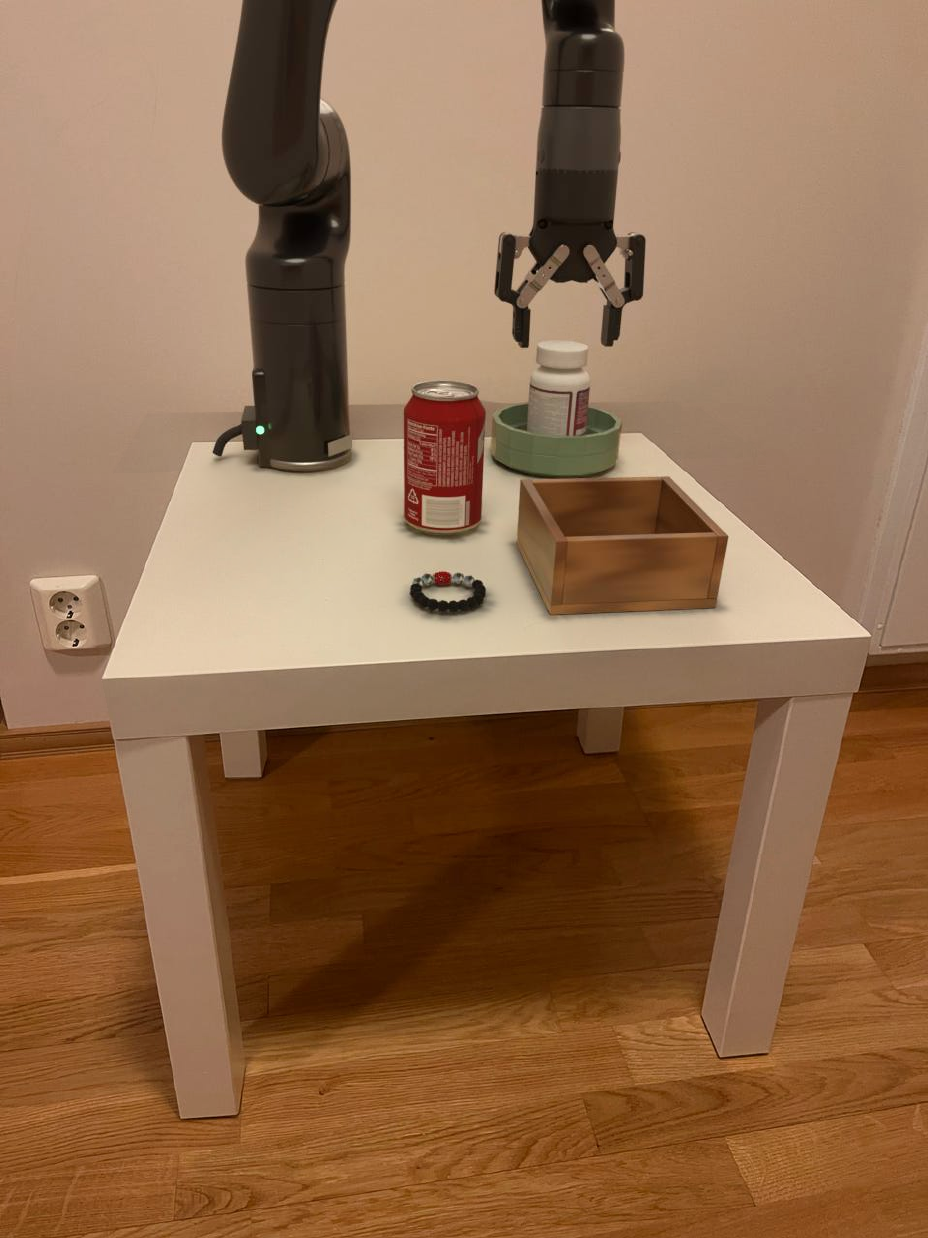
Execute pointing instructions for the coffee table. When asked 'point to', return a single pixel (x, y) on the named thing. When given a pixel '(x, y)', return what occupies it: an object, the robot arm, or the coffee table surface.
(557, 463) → the bowl
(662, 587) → the holder
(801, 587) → the coffee table surface
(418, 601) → the bracelet
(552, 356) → the pill bottle
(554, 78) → the robot arm
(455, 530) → the soda can
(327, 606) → the coffee table surface
